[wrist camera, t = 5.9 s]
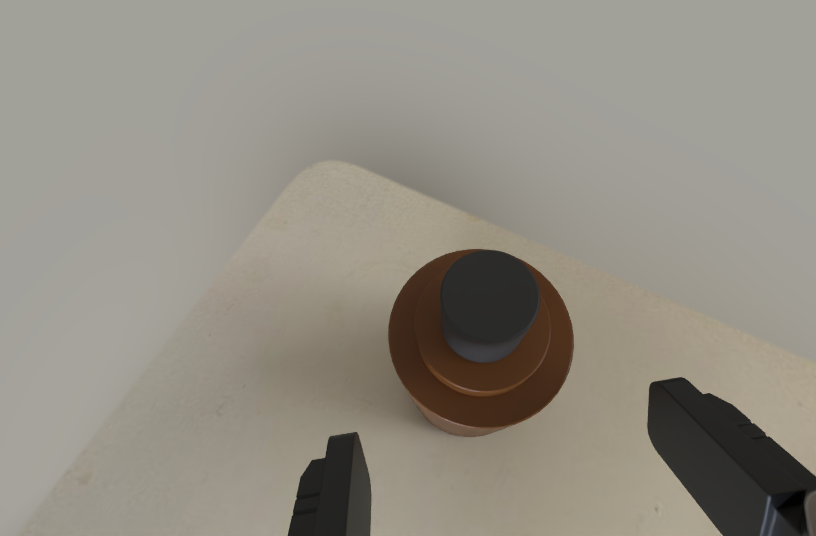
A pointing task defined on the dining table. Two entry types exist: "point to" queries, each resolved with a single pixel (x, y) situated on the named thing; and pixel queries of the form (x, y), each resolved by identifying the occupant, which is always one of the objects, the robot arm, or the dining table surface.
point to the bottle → (480, 341)
